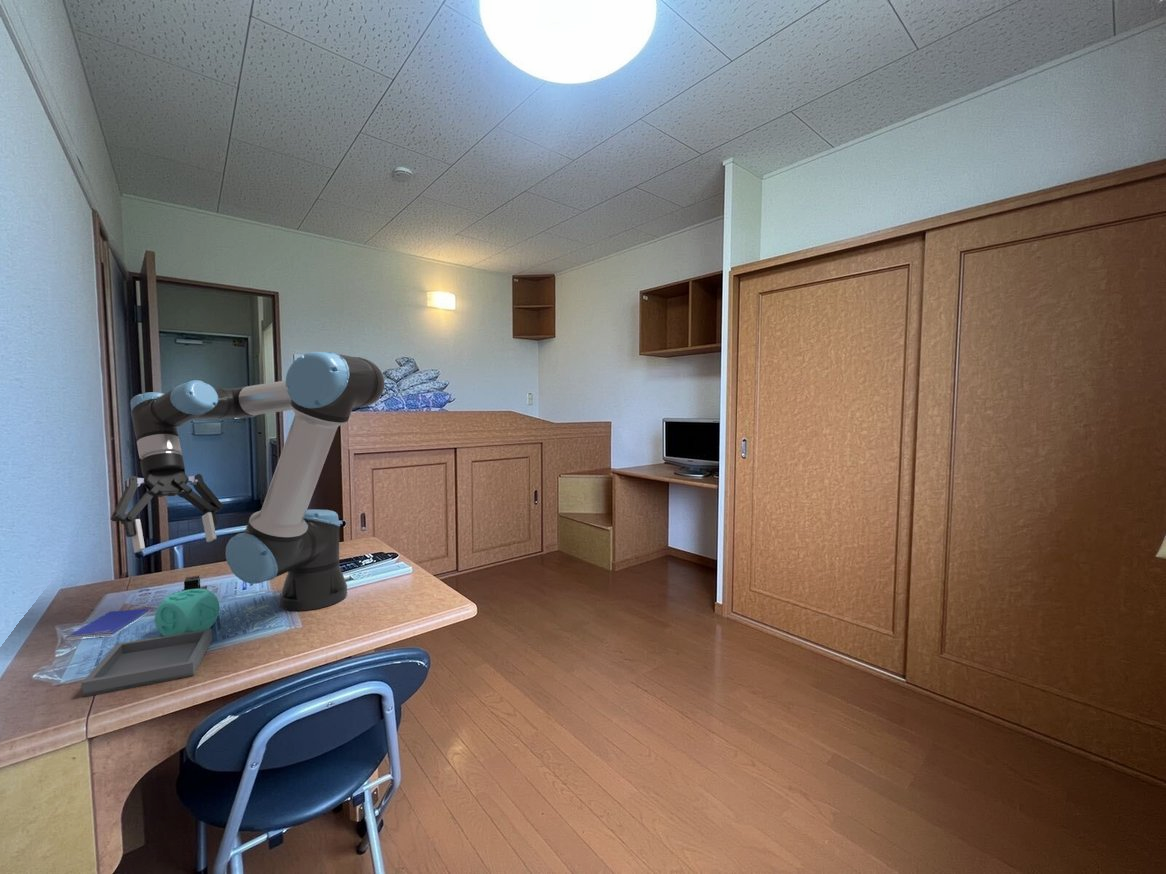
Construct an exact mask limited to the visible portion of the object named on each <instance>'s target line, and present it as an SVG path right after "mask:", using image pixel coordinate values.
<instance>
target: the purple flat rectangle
mask: <svg viewBox="0 0 1166 874" xmlns="http://www.w3.org/2000/svg"><path fill="white" fill-rule="evenodd" d="M149 612H151V611H150V609H149V608H145V609H144V608H143V609H130V610H129V609H128V610H113V611H112V610H111V611H109V612H107V613H105V614H104V615H102V616H100V617H98V618H96V619H95V620H93V621H91V622H90V623H88V624H86V625H84V626H82V627H80V628H78V629H77V630H75V631H74V632H71V633H70V634H68V635H67V636H65V640H66V639H76V638H78V639H79V638H83V637H94V636H95V637H98V636H99V637H101V636H111V635H114V634H115V633H117V632H119V631H120V630H122V629H123V628H124V627H126V626H127V625H129V624H130V623H132V622H134V621H136V620H137V619H139V618H140V617H142V616H144V615H145V616H146V614H147V613H148V614H150V613H149ZM148 614H147V615H148ZM145 616H144V617H145ZM142 618H143V617H142ZM139 620H140V619H139ZM136 622H137V621H136ZM122 631H123V630H122ZM119 633H120V632H119Z"/></svg>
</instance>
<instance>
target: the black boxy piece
mask: <svg viewBox="0 0 1166 874" xmlns="http://www.w3.org/2000/svg"><path fill="white" fill-rule="evenodd" d="M190 589H207V590H208V585H205V586H204V585H203V586H201V575H200V574H199V575H193V576H186V577H185V578H184V582H183V589H181V591H184V590H190Z"/></svg>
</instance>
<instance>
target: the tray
mask: <svg viewBox="0 0 1166 874" xmlns="http://www.w3.org/2000/svg"><path fill="white" fill-rule="evenodd" d="M212 631H213V630H212V628H209V629H206V630H199V631H193V632H187V633H180V634H174V635H168V636H164V635H162V636H155V637H150V638H143V639H138V640H137V639H136V640H130V641H125V642H119V643H116V644H115V646H113V647H112V649H110V651H109V652H108V653H107V654H106V655H105V656H104V657H103V658H102V660H101V661H100V662H99V663H98V664H97V665H96V667H95V668H94V669H92V671H91V672H90V673H89V674H88V675H87V676H86V677H85V678H84V680H83V681H82V682H81V697H82V698H84V697H85V698H87V697H90V696H96V695H100V694H101V695H102V694H106V693H113V692H117V691H123V690H127V689H132V688H136V687H137V688H138V687H142V686H148V685H154V684H159V683H164V682H169V681H174V680H179V679H184V678H185V679H186V678H189V677H194V676H195V674H196V671H197V670H198V668H199V666H200V664H201V662H202V660H203V659H204V657H205V655H204V654H206V653H205V652H207V651H206V650H208V649H207V648H209V647H210V645H209V644H211V643H212V641H213V633H212ZM211 640H212V641H211ZM210 642H211V643H210ZM208 646H209V647H208Z"/></svg>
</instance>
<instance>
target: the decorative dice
mask: <svg viewBox="0 0 1166 874" xmlns="http://www.w3.org/2000/svg"><path fill="white" fill-rule="evenodd" d="M219 613H220V601H219V598H218V597H217V595H216V594H215V593H213V591H211V590H209V589H208V588H207V589H190V590H184V591H177V592H174V593H172V594H169V595H168V596H166V597H165V598H163V600H161V602H160V603H159V605H158V606H157V609H156V610H155V615H154V623H155V627H156V629H157V631H158V632H159V633H160V634H161V635H162V636H168V635H174V634H180V633H187V632H193V631H199V630H206V629H211V627H212V626H213V625H214V623H215V622H216V621H217V620H218V617H219Z"/></svg>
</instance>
